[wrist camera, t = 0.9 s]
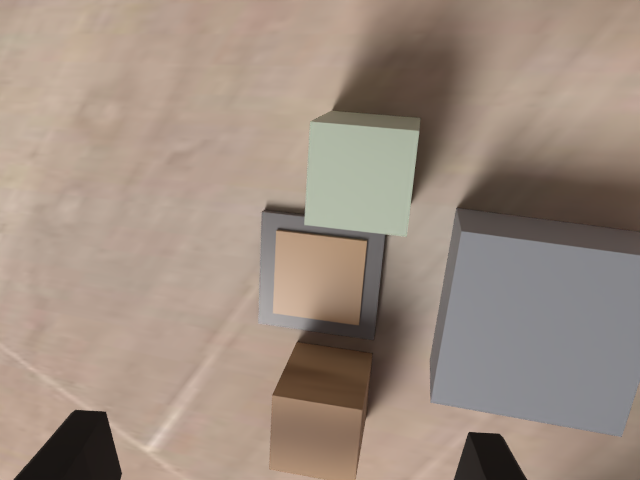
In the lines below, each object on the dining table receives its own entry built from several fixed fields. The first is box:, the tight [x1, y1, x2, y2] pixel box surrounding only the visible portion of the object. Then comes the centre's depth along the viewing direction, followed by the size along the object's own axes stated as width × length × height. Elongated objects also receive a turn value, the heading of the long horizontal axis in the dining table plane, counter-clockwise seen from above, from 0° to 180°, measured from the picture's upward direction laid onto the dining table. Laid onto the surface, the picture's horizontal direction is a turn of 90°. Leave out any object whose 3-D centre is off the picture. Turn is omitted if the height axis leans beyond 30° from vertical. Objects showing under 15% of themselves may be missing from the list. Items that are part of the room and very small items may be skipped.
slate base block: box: [430, 208, 640, 437], centre depth 24 cm, size 8×8×4 cm
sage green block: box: [304, 111, 421, 237], centre depth 23 cm, size 4×4×5 cm
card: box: [258, 210, 385, 340], centre depth 27 cm, size 6×6×1 cm
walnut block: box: [269, 342, 373, 480], centre depth 27 cm, size 4×4×5 cm
